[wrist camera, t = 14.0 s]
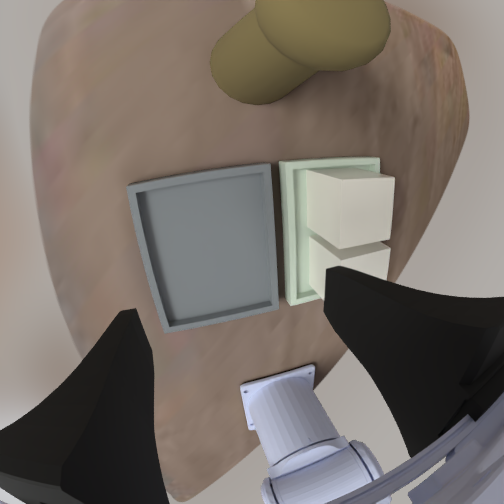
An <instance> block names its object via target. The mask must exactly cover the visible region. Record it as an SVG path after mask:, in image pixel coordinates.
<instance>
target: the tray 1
mask: <svg viewBox="0 0 504 504" xmlns="http://www.w3.org/2000/svg"><path fill="white" fill-rule="evenodd" d="M126 188H127V193H128V198H129V203H130V208H131V213H132V218H133V223H134V227H135V232H136V236H137V240H138V244H139V248H140V252H141V256H142V260H143V264H144V268H145V272H146V275H147V279H148V282H149V286H150V289H151V293H152V296H153V299H154V303H155V306H156V309H157V312H158V315H159V318H160V321H161V324H162V327H163V330H164V333H170V332H176V331H181V330H186V329H192V328H197V327H202V326H207V325H212V324H216V323H221V322H226V321H230V320H235V319H239V318H244V317H248V316H252V315H257V314H261V313H265V312H269V311H273V310H277V309H279V300H278V278H277V259H276V241H275V224H274V208H273V193H272V178H271V165H270V164H269V163H265V162H263V163H253V164H245V165H236V166H229V167H221V168H214V169H207V170H201V171H194V172H188V173H182V174H176V175H171V176H165V177H160V178H155V179H150V180H145V181H140V182H135V183H131V184H129V185H128V186H127V187H126Z"/></svg>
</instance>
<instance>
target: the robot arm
mask: <svg viewBox="0 0 504 504" xmlns="http://www.w3.org/2000/svg"><path fill="white" fill-rule="evenodd" d="M324 313H325V315H326V317H327V319H328V320H329V322H330V324H331V325H332V327H333V329H334V330H335V332H336V333H337V334H338V335H339V337H340V338H341V339H342V340H343V342H344V343H345V344H346V345H347V347H348V348H349V349H350V350H351V352H353V354H354V355H355V356H356V358H357V359H358V360H359V361H360V363H361V364H362V365H363V366H364V368H365V369H366V370H367V372H368V373H369V375H370V376H371V377H372V379H373V381H374V382H375V384H376V386H377V387H378V389H379V391H380V392H381V394H382V396H383V398H384V400H385V401H386V403H387V405H388V407H389V408H390V411H391V413H392V415H393V417H394V419H395V421H396V423H397V425H398V427H399V429H400V432H401V434H402V437H403V439H404V442H405V445H406V447H407V450H408V453H409V455H410V457H411V459H409V460H408V461H406V462H404V463H403V464H401V465H400V466H398V467H397V468H395V469H393V470H392V471H390V472H388V473H386V474H385V475H384V473H383V471H382V469H381V467H380V465H379V463H378V461H377V459H376V458H375V456H374V455H373V453H372V452H371V451H370V449H369V448H368V447H367V446H366V445H365V444H364V443H363V442H359V441H356V440H352V441H350V442H349V443H348V441H347V440H346V438H345V436H341V437H340V435H339V434H338V432H337V430H336V429H335V427H334V425H333V423H332V422H331V420H330V418H329V417H328V415H327V413H326V412H325V410H324V409H323V407H322V405H321V403H320V402H319V400H318V398H317V397H316V395H315V393H314V391H313V384H314V374H315V367H314V365H312V364H311V365H307V366H304V367H301V368H298V369H295V370H292V371H288V372H285V373H282V374H278V375H275V376H271V377H267V378H264V379H260V380H256V381H252V382H248V383H244V384H242V385H241V386H240V390H241V395H242V400H243V405H244V410H245V415H246V420H247V424H248V428H249V430H255V429H256V431H257V434H258V436H259V439H260V442H261V444H262V447H263V449H264V452H265V455H266V457H267V460H268V463H269V465H270V468H268V469H267V471H268V473H269V476H270V477H268V478H265V479H264V480H263V483H262V486H261V494H262V498H263V501H264V504H390V502H391V500H392V498H391V494H393V493H395V492H396V491H398V490H399V489H401V488H403V487H404V486H406V485H407V484H409V483H410V482H412V481H413V480H415V479H416V478H418V477H419V476H420V475H422V474H423V473H425V472H426V471H427V470H428V469H430V468H431V467H433V466H434V465H435V464H437V463H438V462H439V461H441V460H442V459H443V458H444V457H445V456H446V463H445V464H444V465H442V466H441V467H440V468H439V469H437V470H436V471H435V472H434V473H433V474H431V475H430V476H429V477H428V478H427V479H426V480H424V481H423V482H422V483H421V484H419V485H418V486H417V487H415V488H414V489H412V490H411V491H410V492H408V496H409V498H410V499H411V501H412V504H504V297H494V298H467V297H455V296H448V295H440V294H435V293H430V292H425V291H421V290H416V289H413V288H409V287H405V286H402V285H399V284H396V283H392V282H389V281H386V280H383V279H380V278H377V277H375V276H372V275H369V274H366V273H363V272H360V271H357V270H354V269H351V268H347V267H344V266H335V267H331V268H327V269H326V276H325V296H324ZM0 487H1V488H2V489H3V490H5V491H6V492H8V493H10V494H11V495H13V496H14V497H16V498H17V499H19V500H21V501H22V502H24V503H26V504H169V500H168V497H167V493H166V489H165V486H164V482H163V478H162V473H161V469H160V464H159V459H158V453H157V447H156V441H155V433H154V365H153V354H152V349H151V347H150V344H149V342H148V339H147V337H146V334H145V331H144V329H143V326H142V323H141V321H140V318H139V315H138V312H137V310H136V308H135V309H129V310H123V311H120V312H119V313H118V315H117V316H116V317H115V318H114V320H113V321H112V322H111V324H110V325H109V327H108V328H107V329H106V331H105V332H104V333H103V335H102V336H101V337H100V339H99V340H98V341H97V343H96V344H95V345H94V347H93V348H92V349H91V350H90V352H89V353H88V354H87V355H86V357H85V358H84V359H83V360H82V362H81V363H80V364H79V365H78V367H77V368H76V369H75V370H74V371H73V372H72V373H71V375H70V376H69V377H68V378H67V379H66V380H65V381H64V382H63V383H62V384H61V385H60V386H59V387H58V388H57V389H55V390H54V391H53V392H52V393H51V394H50V395H49V396H48V397H47V398H45V399H44V400H43V401H42V402H41V403H40V404H39V405H37V406H36V407H35V408H34V409H32V410H31V411H30V412H28V413H27V414H25V415H24V416H23V417H21V418H20V419H18V420H17V421H15V422H14V423H12V424H10V425H9V426H7V427H5V428H4V429H2V430H0ZM0 504H7V503H5V502H2V501H0Z"/></svg>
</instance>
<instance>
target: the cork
mask: <svg viewBox="0 0 504 504" xmlns="http://www.w3.org/2000/svg"><path fill="white" fill-rule="evenodd" d="M390 32H391V28H390V16H389V13H388V9H387V6H386V4H385V2H384V0H256V2H255V8H254V9H253V10H252V11H250V12H249V13H248V14H247V15H246V16H245V17H243V18H242V19H241V20H240V21H239V22H238V23H237V24H235V25H234V26H233V27H232V28H231V29H230V30H229V31H228V32H227V33H226V34H225V35H223V36H222V37H221V38H220V39H219V40H218V42H217V44H216V45H215V47H214V48H213V50H212V54H211V59H210V66H211V72H212V76H213V78H214V79H215V81H216V83H217V85H218V86H219V88H220V89H222V90H223V91H224V92H225V93H226V94H227V95H228V96H229V97H231V98H234V99H236V100H238V101H240V102H242V103H247V104H253V105H261V104H269V103H272V102H274V101H276V100H279V99H281V98H282V97H284V96H285V95H286V94H288V93H289V92H290V91H292V90H293V89H294V88H296V87H297V86H298V85H300V84H301V83H303V82H304V81H305V80H307V79H308V78H309V77H311V76H312V75H314V74H315V73H317V72H318V71H319V70H322V71H346V70H350V69H353V68H356V67H359V66H362V65H366V64H367V63H369V62H370V61H371V60H373V59H374V58H375V57H376V56H377V55H378V54H379V53H381V52H382V51H383V49H384V47H385V44H386V42H387V39H388V37H389V34H390Z"/></svg>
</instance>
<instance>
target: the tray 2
mask: <svg viewBox="0 0 504 504" xmlns="http://www.w3.org/2000/svg"><path fill="white" fill-rule="evenodd" d="M329 168H359V169H363V170H368V171H372V172H376V173H380V158H377V157H371V156H359V157H329V158H311V159H296V160H284V161H279V176H280V191H281V209H282V228H283V249H284V274H285V299H286V300H287V302H288V303H289V304H290V306H293V305H297V304H301V303H304V302H308V301H312V300H316V299H319V298H321V297H320V296H319V295H318V294H317V293H316V291H315V290H314V289H313V288H312V287H311V286H310V285H309V236H313V235H318V234H317V233H315V232H314V231H312V230H311V229H310V228H308V227H307V182H306V170H310V169H329Z"/></svg>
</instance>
